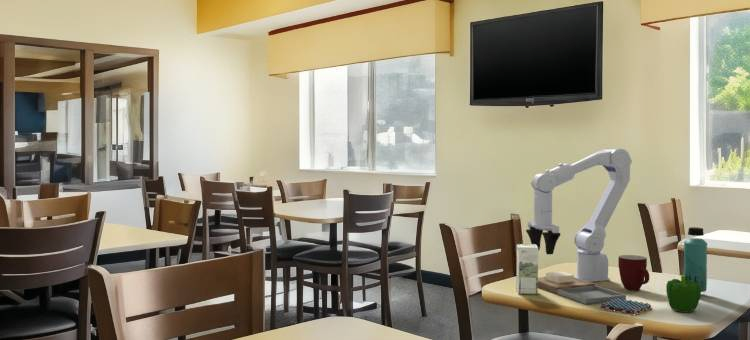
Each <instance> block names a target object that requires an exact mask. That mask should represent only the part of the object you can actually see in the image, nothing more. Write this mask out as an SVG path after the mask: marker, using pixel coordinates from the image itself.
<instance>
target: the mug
mask: <svg viewBox="0 0 750 340" xmlns="http://www.w3.org/2000/svg"><path fill="white" fill-rule="evenodd" d="M647 260H648V258H647V257H646V256H642V255H635V254H622V255H618V271H619V276H620V277H619V278H620V282H621V283H622V286H623V287H624V288H623V289H625V290H626V291H630V292H638V291H640V289H641V288H642V286H643V285H646V284H648V283H649V282H650V273H649V271H648V269H647V266H648V261H647Z"/></svg>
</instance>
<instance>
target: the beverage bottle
mask: <svg viewBox="0 0 750 340" xmlns="http://www.w3.org/2000/svg"><path fill="white" fill-rule="evenodd" d="M687 235H688V236H696V237H691V238H687V239H686V240H685V241H683V244H684V246H683V247H684V248H683V259H682V261H683V264H682V265H683V270H682V272H683V275H685V281H686V280H691V281H693V282H698V283H699V284H700V286H701V293H705V292H706V291H707V290H708V289H707V288H708V287H707V286H708V285H707V284H708V282H707V281H708V268H707V264H708V242H706V240H704V239H703V238H697V236H699V237H701V236H704V235H705V234H704V228H702V227H698V226H697V227H692V226H691V227H688V232H687Z"/></svg>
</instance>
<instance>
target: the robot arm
mask: <svg viewBox="0 0 750 340" xmlns="http://www.w3.org/2000/svg"><path fill="white" fill-rule="evenodd" d="M632 163H633V160H632V158H631V155H630V153H629V151H627V150H626V149H624V148H604V149H602V150H598V151H596V152H595V153H592V154H590V155H587V156H586V157H584V158H582V159H580V160H578V161H576V162H574V163H572V164H569V163H567V162H566V163H562V162H560V163H558V164H557V166H556V167H554V168H551V169H546V170H544V173H537V174H535V175H534V177H532V180H531V182H530V184H531V187H532V189H533V193H534V196H533V220H532V221H527V228H529V229H527V228H526V230H525V232H526V234H527V235H528V237H529V240H530V244H536V245H537V247H538V251H540V250H541V240H542V236H543V239H544V243H545V245H544V246H545V253H546V255H553V254H554V252H555V248H556V244H557V243H558V241H559V238H560V236H561V232H560V226H559V225H555V224H554V223H553V191H554V189H555V188H556V187H558V186H561V185H563V184H565V183H567V182H569V181H571V180H573V179H574V178H575V175H576V174H578V173H581V172H583V171H586V170H589V169H591V168H593V167H596V166H602V167H603V169H605V170H606V171H607V173H608V175H609V178H610V181H609V183H608V184H607V186H606V188H605V189H604V192H603V194H602V196H601V198H600V200H599V201H598V204H597V205H596V207H595V210H594V212H593V214H592V215H591V217H590V220H589V221H588V222H587V223H585V224H584V225H582V228H581V229H580V230H579V231H577V232H576V233H575V235H574V240H573V241H574V244H575V246H576V247H577V250H576V252H577V253H576V254H577V257H576V259H577V260H576V275H574V277H575V278H578V279H582V280H585V281H588V282H591V283H594V282H603V281H610V279H611V278H609V259H608V256H607V254H606V253H605V252H603V251H602V250H603V248H604V246H605V238H606V237H607V231H606V227H607V226H608V223H609V221H610V219H611V217H612V215H613V214H614V212H615V210H616V209H617V205H618V204H619V202H620V200H621V198H622V196H623V195H624V193H625V191H626V189H627V187H628V185H629V183H630V180H631V164H632ZM544 231H545V232H544Z"/></svg>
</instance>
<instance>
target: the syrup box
mask: <svg viewBox="0 0 750 340" xmlns="http://www.w3.org/2000/svg"><path fill="white" fill-rule="evenodd" d="M515 273H516V274H515V275H516V276H515V277H516V282H515V283H516V284H515V285H516V286H515V287H516V289H515V290H516V292H517V293H518V295H533V296H534V295H538V293H539V291H538V289H539V288H538V278H539V250H538V247H537V245H536V244H531V243H530V244H529V243H527V244H525V243H517V244H516V272H515Z"/></svg>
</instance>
